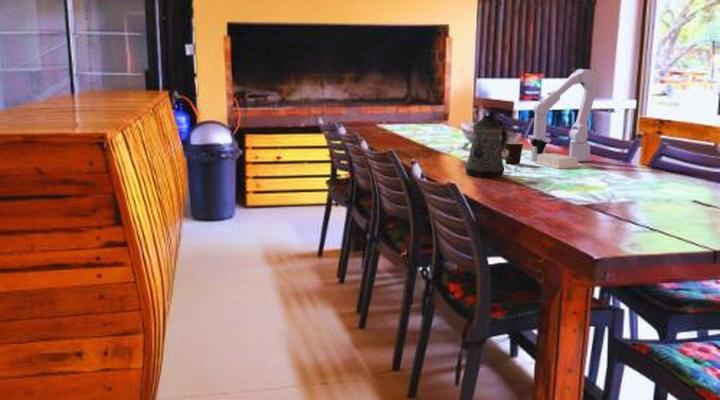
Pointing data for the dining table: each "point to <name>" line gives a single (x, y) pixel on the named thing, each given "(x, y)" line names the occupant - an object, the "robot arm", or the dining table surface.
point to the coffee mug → (513, 152)
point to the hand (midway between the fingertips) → (538, 155)
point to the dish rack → (557, 160)
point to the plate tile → (535, 153)
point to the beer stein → (487, 149)
